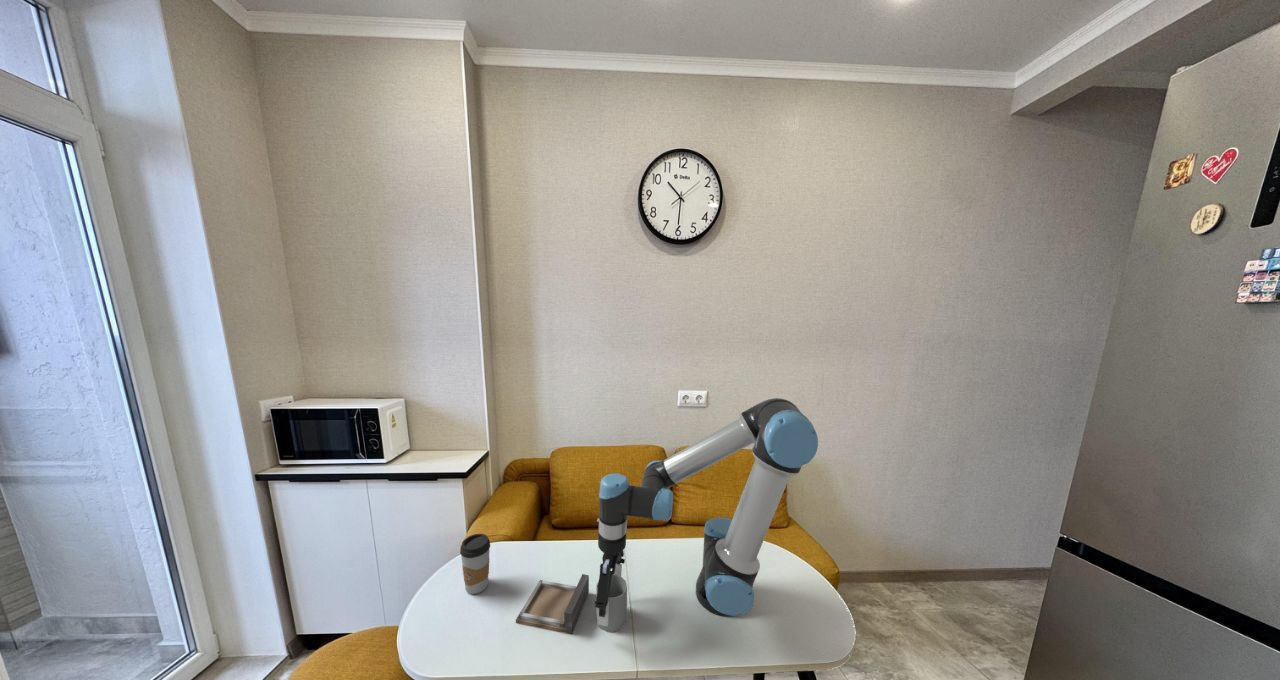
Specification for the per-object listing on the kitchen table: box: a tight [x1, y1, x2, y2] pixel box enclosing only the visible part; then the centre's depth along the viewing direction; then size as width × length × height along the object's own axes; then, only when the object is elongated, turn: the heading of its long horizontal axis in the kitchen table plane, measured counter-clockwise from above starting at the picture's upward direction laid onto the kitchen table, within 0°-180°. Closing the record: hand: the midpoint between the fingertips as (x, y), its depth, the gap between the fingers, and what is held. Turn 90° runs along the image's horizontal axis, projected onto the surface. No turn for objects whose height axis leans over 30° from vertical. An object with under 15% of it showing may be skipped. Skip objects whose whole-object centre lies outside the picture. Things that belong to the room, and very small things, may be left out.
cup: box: [595, 575, 628, 633], centre depth 104 cm, size 8×8×10 cm
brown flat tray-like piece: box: [515, 573, 590, 635], centre depth 108 cm, size 16×14×6 cm
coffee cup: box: [459, 533, 491, 595], centre depth 114 cm, size 8×8×15 cm
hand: (609, 603), depth 104 cm, fingers open, 13 cm apart
